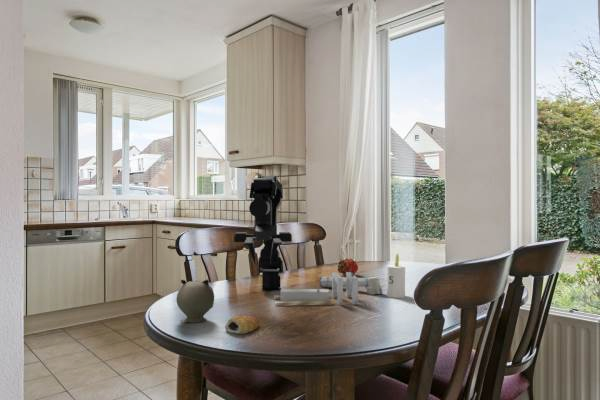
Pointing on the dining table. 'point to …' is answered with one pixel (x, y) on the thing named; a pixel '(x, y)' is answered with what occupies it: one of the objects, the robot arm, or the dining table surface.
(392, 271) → the candle
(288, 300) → the gray rectangular bar
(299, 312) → the dining table surface
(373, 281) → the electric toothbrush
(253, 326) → the pastry
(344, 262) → the dragon fruit
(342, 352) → the dining table surface
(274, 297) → the guide rails
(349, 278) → the slotted u bracket
